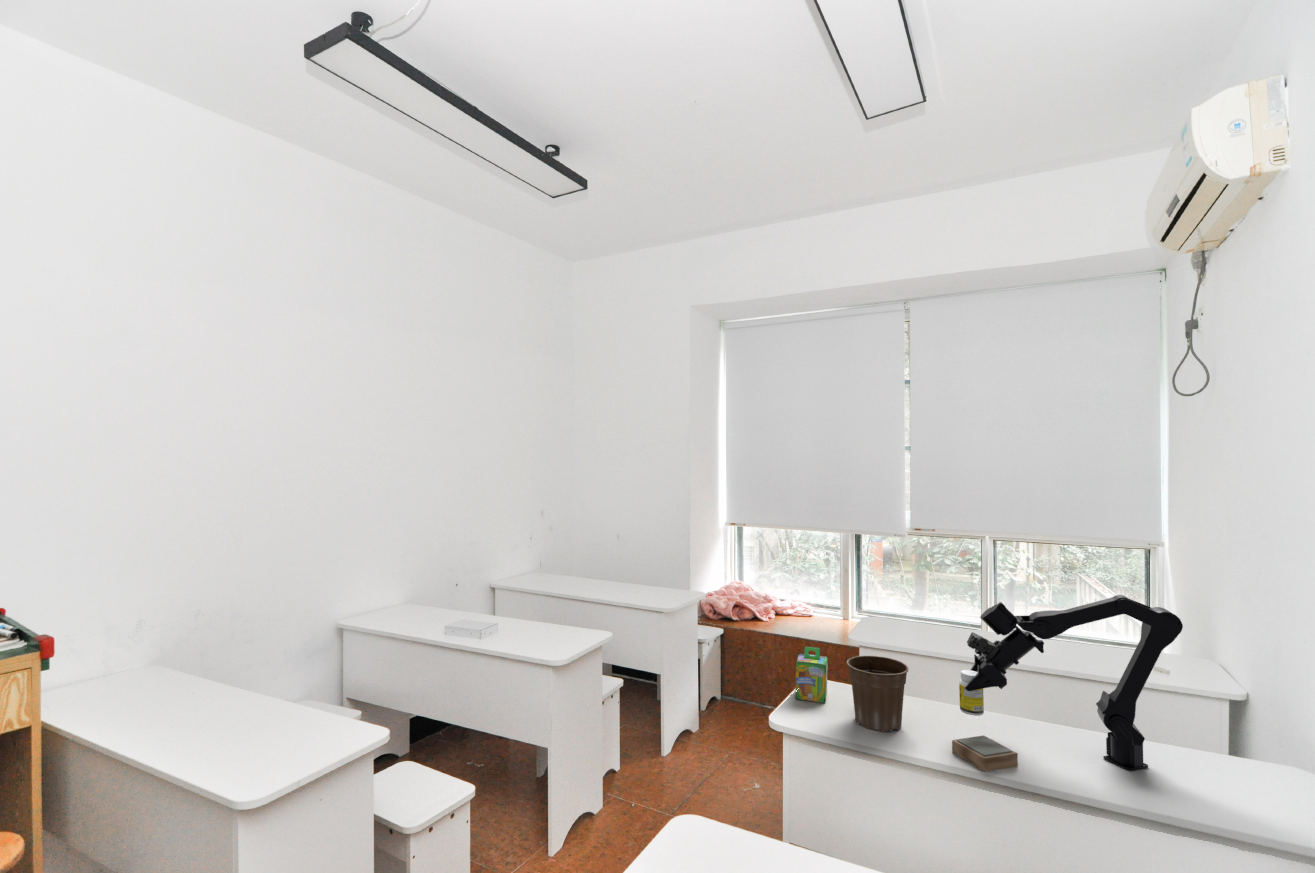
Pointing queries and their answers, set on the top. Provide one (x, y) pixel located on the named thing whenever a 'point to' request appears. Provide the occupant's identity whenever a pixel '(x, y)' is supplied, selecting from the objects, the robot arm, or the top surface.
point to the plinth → (984, 753)
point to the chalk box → (811, 676)
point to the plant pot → (878, 691)
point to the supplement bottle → (970, 695)
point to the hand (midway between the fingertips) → (965, 685)
